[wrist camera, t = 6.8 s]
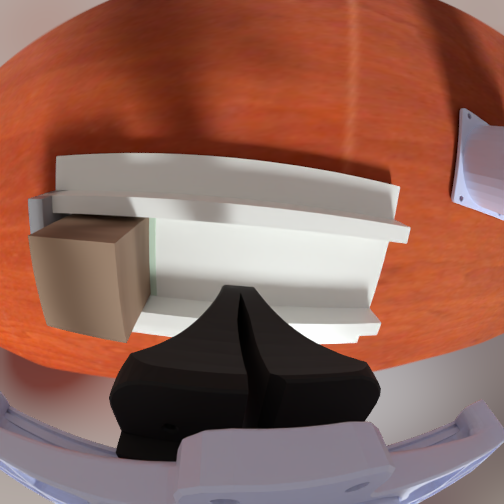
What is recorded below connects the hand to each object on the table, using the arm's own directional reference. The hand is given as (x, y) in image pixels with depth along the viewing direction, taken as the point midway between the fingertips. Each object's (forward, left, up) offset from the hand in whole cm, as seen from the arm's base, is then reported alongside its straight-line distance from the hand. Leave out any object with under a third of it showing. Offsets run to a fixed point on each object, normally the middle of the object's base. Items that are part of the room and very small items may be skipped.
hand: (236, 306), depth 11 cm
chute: (+1, 0, -6) cm, 6 cm away
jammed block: (+8, 0, -5) cm, 9 cm away
